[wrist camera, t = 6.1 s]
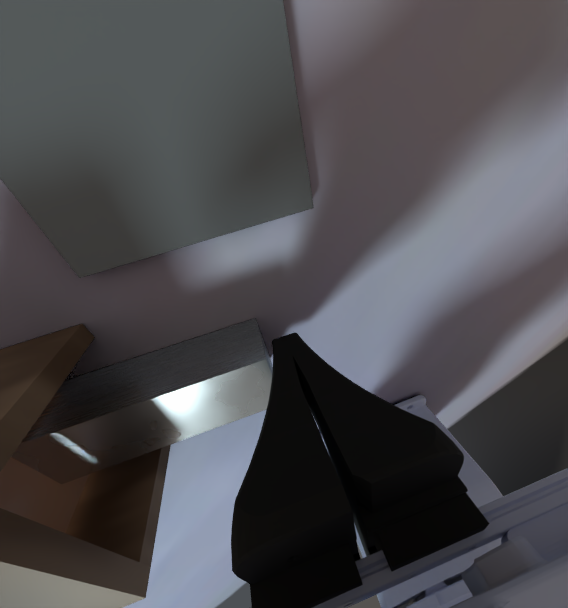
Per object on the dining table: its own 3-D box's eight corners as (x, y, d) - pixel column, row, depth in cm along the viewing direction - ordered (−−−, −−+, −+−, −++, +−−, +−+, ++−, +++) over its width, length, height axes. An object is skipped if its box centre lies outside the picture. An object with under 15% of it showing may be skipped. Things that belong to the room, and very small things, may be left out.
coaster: (236, -247, 5) (239, -295, 4) (308, 205, 10) (313, 207, 9) (-263, -187, 4) (-330, -236, 4) (87, 271, 9) (79, 278, 8)
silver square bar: (255, 318, 12) (266, 359, 9) (270, 359, 14) (282, 403, 11) (50, 385, 11) (0, 451, 8) (92, 420, 13) (61, 484, 10)
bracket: (82, 323, 10) (-98, 536, 4) (173, 425, 14) (145, 597, 9) (-19, 355, 10) (-360, 633, 4) (107, 449, 14) (32, 645, 8)
